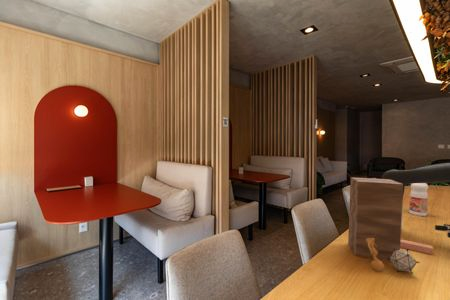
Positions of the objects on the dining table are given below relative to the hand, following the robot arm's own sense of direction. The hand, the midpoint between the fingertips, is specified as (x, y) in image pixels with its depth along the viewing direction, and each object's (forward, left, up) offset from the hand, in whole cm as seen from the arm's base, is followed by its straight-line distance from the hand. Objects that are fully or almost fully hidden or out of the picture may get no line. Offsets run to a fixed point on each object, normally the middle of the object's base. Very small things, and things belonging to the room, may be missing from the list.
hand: (441, 231), depth 101 cm
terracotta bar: (0, -15, -9) cm, 18 cm away
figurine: (+26, -35, -9) cm, 44 cm away
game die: (+24, -25, -9) cm, 36 cm away
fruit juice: (-60, +20, -9) cm, 64 cm away
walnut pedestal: (+11, -31, -9) cm, 34 cm away
